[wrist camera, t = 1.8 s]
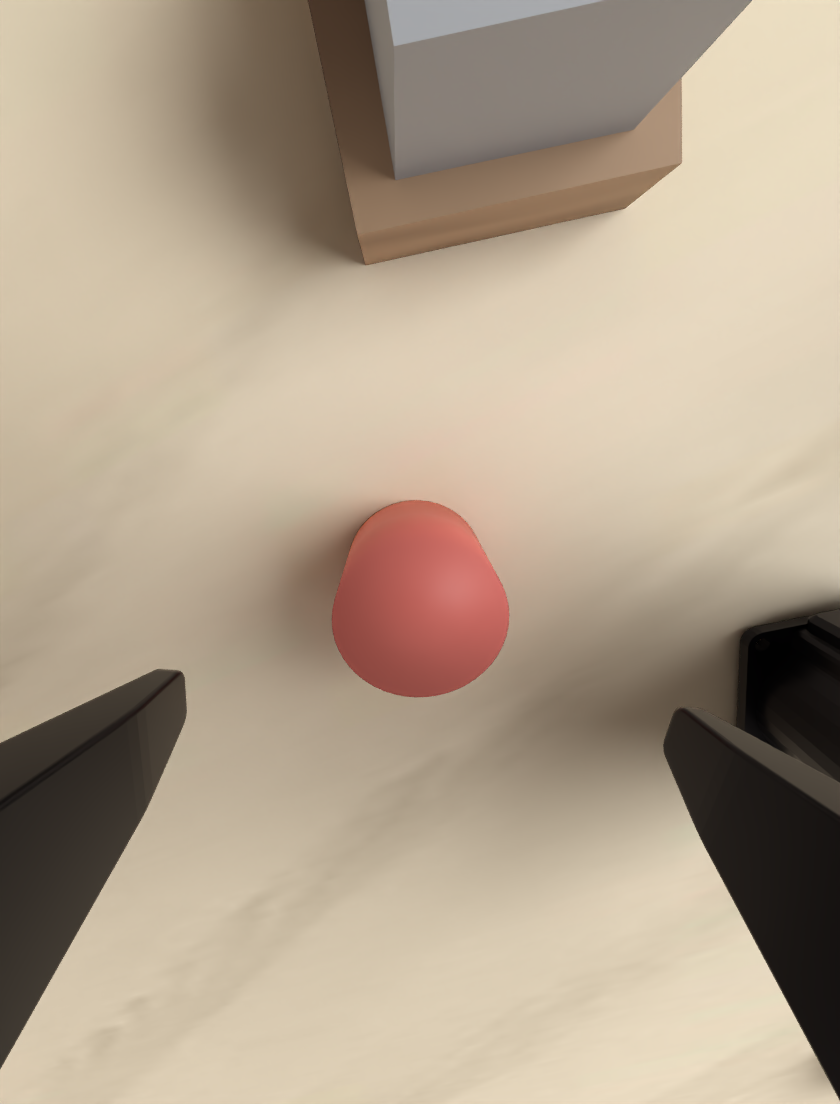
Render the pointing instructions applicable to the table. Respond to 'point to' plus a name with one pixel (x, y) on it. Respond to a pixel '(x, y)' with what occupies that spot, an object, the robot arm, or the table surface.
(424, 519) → the red cylinder
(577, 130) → the grey block
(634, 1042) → the table surface
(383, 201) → the walnut slab
